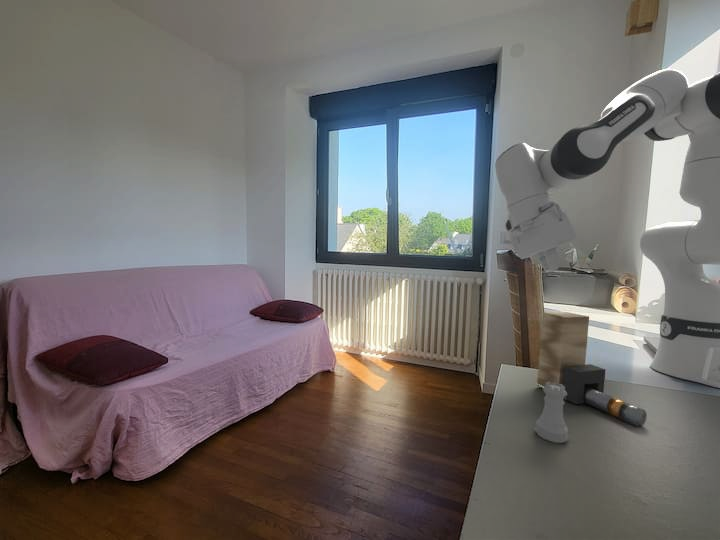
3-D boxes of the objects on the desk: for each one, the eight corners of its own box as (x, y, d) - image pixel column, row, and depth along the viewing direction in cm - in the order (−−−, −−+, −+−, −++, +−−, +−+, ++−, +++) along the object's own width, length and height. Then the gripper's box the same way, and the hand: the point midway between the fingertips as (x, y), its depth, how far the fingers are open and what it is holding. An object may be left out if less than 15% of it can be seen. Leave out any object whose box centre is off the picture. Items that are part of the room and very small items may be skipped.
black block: (562, 397, 65) (564, 366, 65) (587, 394, 68) (590, 364, 67) (576, 404, 63) (579, 371, 62) (602, 400, 65) (605, 369, 65)
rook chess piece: (566, 448, 48) (571, 393, 48) (532, 436, 51) (536, 385, 50) (569, 435, 52) (574, 385, 51) (537, 425, 54) (541, 377, 54)
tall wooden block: (536, 385, 71) (542, 312, 70) (560, 383, 73) (566, 311, 73) (557, 395, 66) (564, 317, 66) (582, 392, 69) (589, 316, 68)
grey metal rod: (553, 391, 69) (555, 376, 69) (564, 389, 70) (565, 375, 70) (633, 427, 55) (635, 410, 55) (645, 425, 56) (647, 408, 56)
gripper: (570, 194, 67) (595, 260, 65) (525, 221, 87) (543, 272, 85) (539, 203, 67) (563, 269, 65) (502, 227, 87) (519, 278, 85)
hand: (552, 270), depth 75 cm, fingers closed
